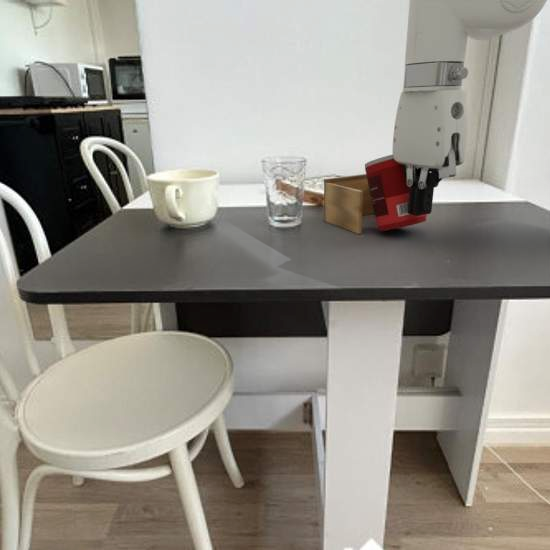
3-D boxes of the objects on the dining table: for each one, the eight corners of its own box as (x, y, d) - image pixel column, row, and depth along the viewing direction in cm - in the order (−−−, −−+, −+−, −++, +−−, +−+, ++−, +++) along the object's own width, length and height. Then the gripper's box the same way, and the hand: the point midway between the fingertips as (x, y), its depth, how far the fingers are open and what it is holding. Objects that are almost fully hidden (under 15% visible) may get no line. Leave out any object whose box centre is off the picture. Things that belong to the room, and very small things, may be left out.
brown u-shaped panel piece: (414, 223, 76) (417, 179, 73) (358, 234, 71) (360, 187, 69) (375, 212, 85) (377, 172, 82) (323, 220, 80) (323, 178, 78)
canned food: (436, 218, 70) (423, 150, 69) (411, 225, 65) (396, 151, 64) (394, 226, 76) (381, 163, 75) (368, 233, 70) (354, 166, 70)
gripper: (500, 76, 54) (478, 221, 61) (413, 82, 67) (403, 202, 73) (457, 76, 51) (439, 228, 58) (374, 82, 63) (367, 207, 70)
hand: (419, 213), depth 65 cm, fingers closed
